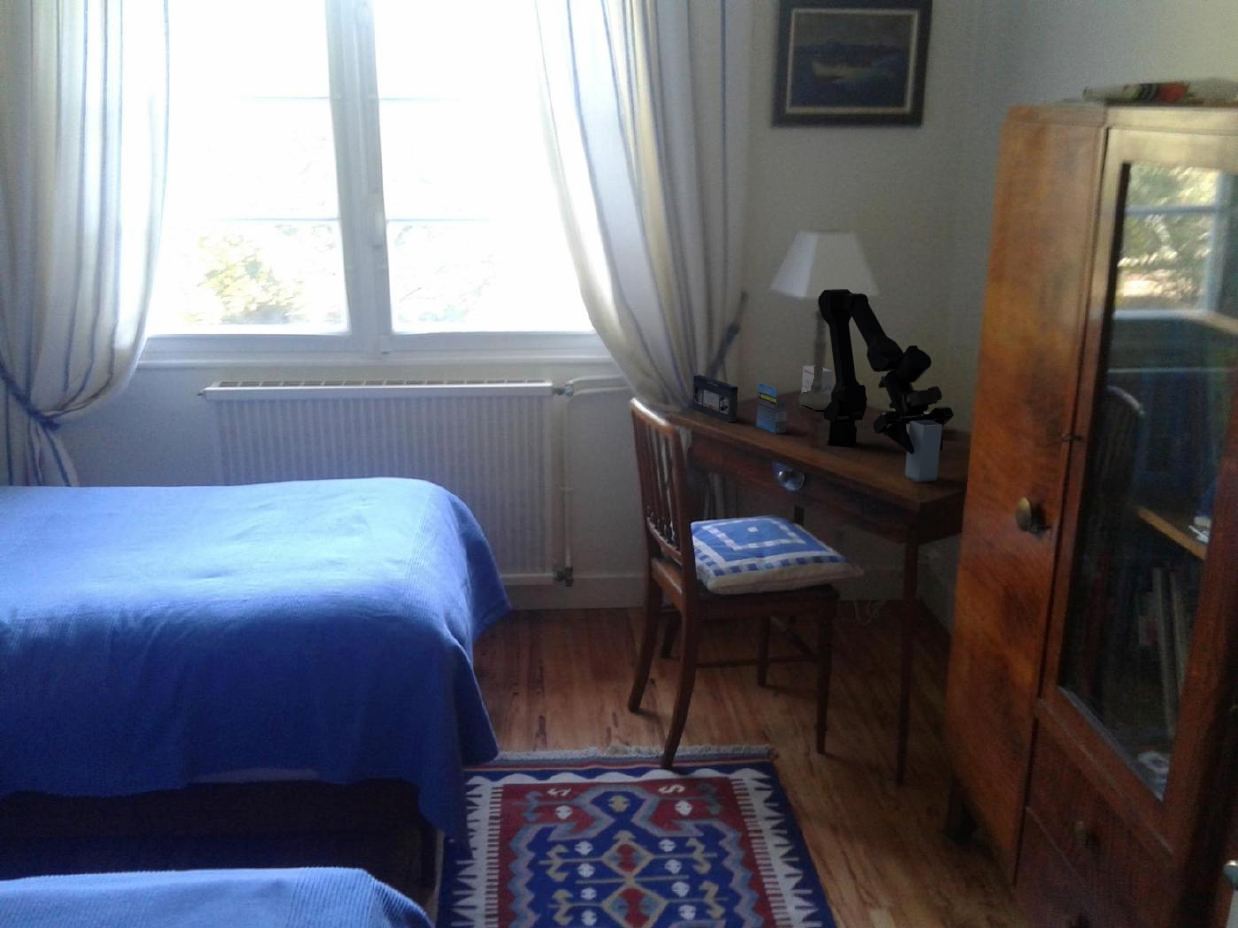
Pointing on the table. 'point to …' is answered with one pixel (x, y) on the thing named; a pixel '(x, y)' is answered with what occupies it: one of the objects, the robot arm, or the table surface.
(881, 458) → the table surface
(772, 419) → the label tape box
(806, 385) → the ink box
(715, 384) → the vhs cassette tape
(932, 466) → the grey hollow square tube
